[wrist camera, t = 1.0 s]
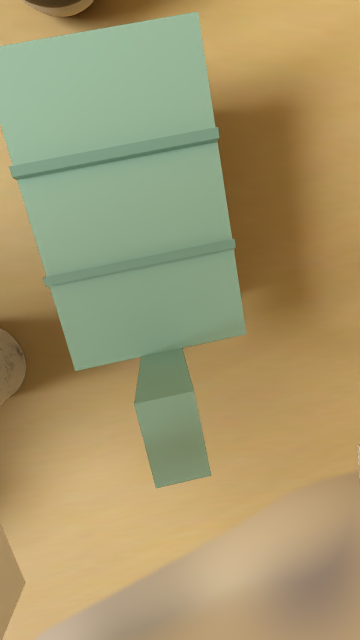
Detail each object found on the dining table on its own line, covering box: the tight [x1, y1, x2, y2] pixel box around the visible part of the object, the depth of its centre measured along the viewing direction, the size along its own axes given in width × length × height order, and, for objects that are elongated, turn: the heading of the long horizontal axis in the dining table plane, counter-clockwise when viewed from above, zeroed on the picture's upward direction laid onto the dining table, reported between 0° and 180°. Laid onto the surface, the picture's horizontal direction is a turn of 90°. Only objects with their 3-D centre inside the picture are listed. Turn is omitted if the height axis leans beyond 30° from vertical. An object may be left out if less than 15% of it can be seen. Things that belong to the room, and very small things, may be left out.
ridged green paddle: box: [0, 12, 246, 488], centre depth 16 cm, size 13×25×8 cm, turn 11°
